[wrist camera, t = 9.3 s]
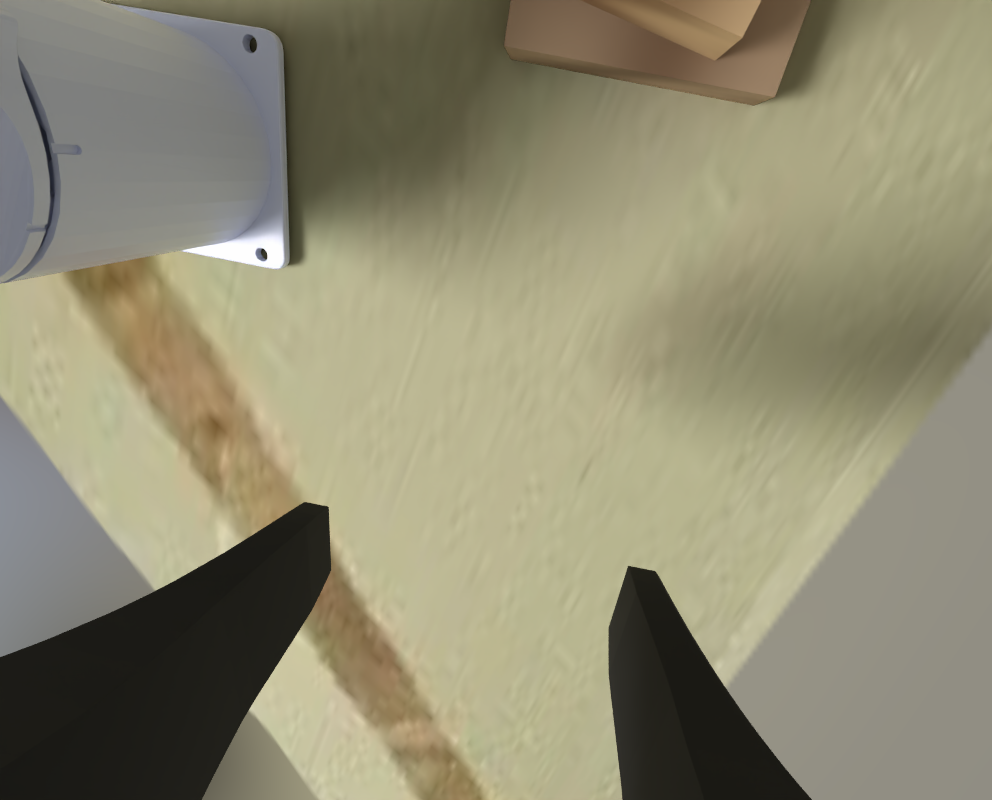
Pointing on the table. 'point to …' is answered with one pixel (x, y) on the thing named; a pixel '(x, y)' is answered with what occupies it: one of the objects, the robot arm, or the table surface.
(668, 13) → the top block
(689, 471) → the table surface
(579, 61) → the base block
